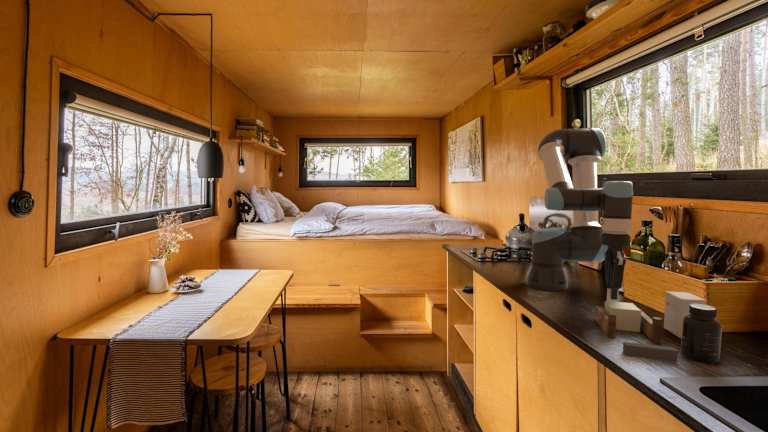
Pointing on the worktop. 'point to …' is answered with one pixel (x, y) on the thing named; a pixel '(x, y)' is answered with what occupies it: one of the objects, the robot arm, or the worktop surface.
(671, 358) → the bar
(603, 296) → the worktop surface
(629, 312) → the block
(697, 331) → the supplement bottle
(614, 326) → the chute
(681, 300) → the small box
